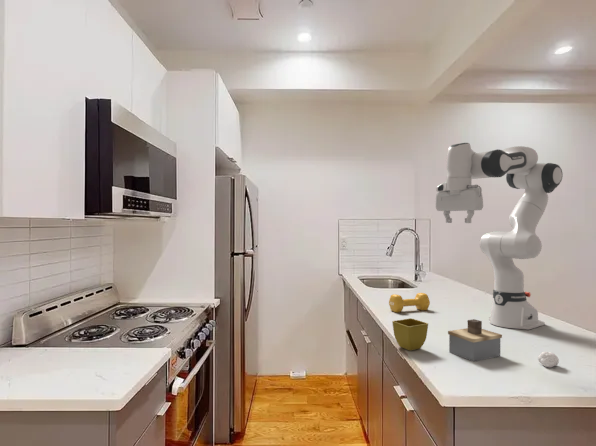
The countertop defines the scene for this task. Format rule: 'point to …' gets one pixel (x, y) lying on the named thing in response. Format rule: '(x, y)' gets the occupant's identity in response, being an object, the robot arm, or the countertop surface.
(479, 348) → the box
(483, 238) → the robot arm
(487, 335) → the lid
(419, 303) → the dumbbell
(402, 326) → the flower pot
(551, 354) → the microfossil shell
